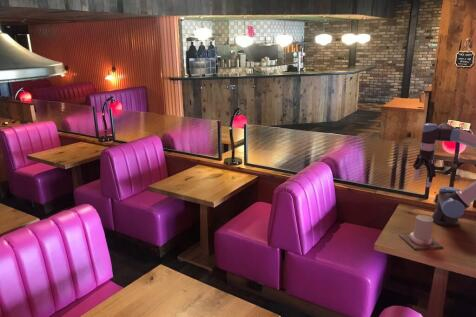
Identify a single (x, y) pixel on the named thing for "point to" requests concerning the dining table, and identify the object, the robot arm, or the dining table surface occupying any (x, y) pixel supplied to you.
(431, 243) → the stand
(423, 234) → the can
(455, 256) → the dining table surface
